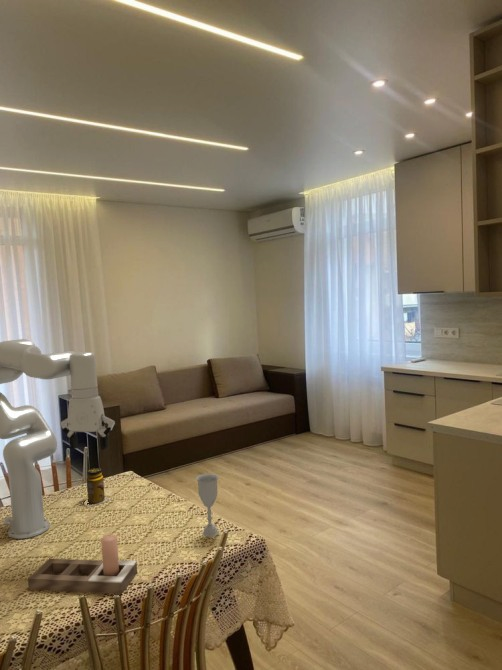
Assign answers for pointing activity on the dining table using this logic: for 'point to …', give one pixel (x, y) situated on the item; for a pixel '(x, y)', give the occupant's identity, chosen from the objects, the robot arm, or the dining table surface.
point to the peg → (110, 555)
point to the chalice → (208, 499)
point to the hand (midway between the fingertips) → (89, 448)
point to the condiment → (95, 487)
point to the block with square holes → (76, 583)
